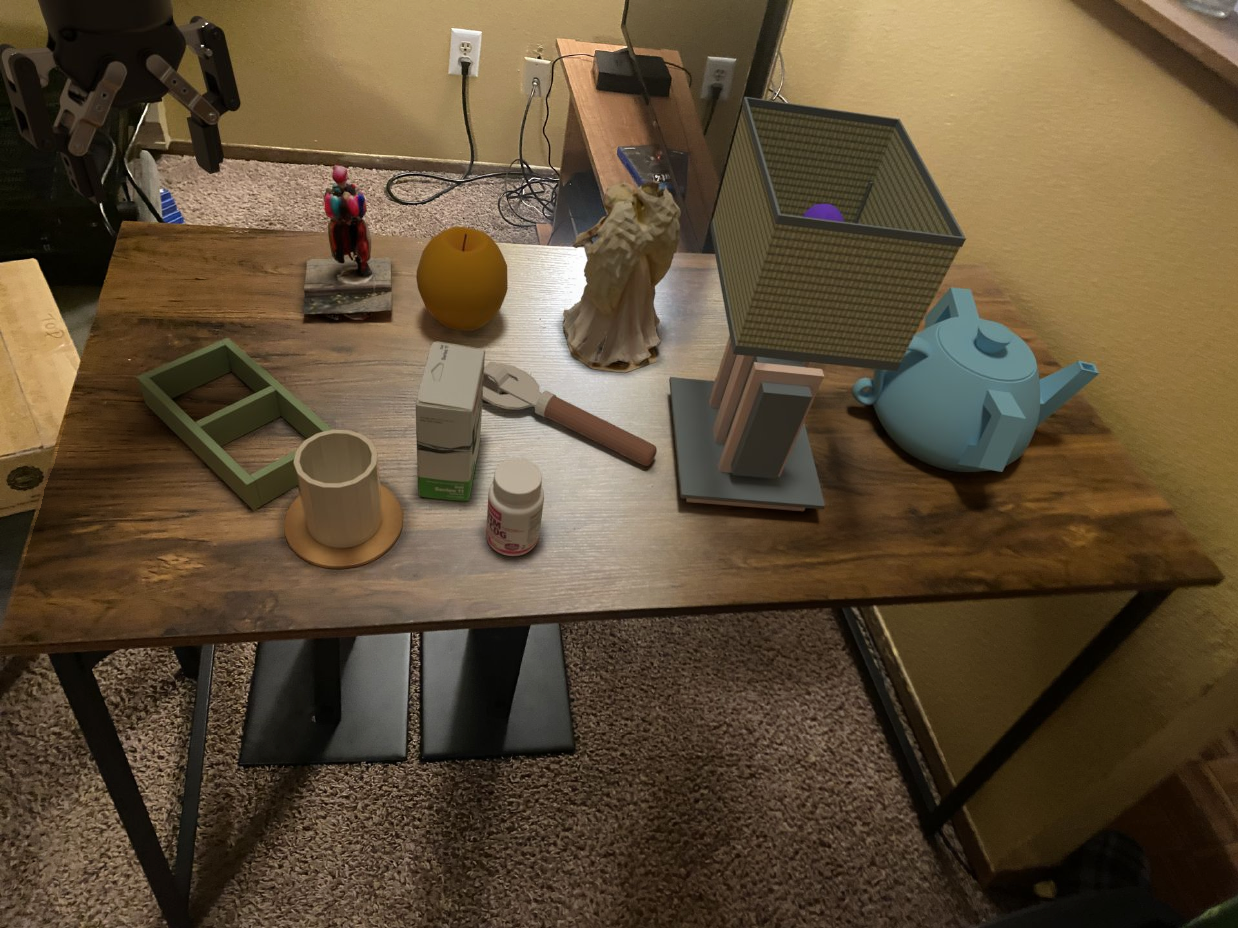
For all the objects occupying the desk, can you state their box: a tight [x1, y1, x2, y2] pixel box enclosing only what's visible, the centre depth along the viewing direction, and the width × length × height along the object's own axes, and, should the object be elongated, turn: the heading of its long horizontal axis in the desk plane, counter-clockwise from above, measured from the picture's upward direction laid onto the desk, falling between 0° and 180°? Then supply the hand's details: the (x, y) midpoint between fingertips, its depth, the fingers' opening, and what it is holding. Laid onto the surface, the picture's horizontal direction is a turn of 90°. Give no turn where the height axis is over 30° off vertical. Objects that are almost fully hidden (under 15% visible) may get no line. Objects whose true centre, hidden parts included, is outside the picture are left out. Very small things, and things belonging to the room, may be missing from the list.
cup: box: [294, 429, 382, 548], centre depth 71 cm, size 6×6×8 cm
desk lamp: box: [669, 96, 967, 512], centre depth 75 cm, size 18×14×33 cm
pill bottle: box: [485, 457, 545, 557], centre depth 72 cm, size 5×5×8 cm
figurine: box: [562, 180, 682, 374], centre depth 90 cm, size 12×12×20 cm
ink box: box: [415, 341, 486, 502], centre depth 76 cm, size 9×5×12 cm, turn 179°
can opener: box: [482, 361, 658, 467], centre depth 86 cm, size 20×6×3 cm, turn 68°
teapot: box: [851, 286, 1100, 473], centre depth 91 cm, size 19×19×14 cm
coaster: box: [283, 484, 404, 570], centre depth 74 cm, size 10×10×1 cm
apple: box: [415, 226, 509, 331], centre depth 91 cm, size 10×10×12 cm
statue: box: [301, 164, 393, 321], centre depth 91 cm, size 11×9×15 cm
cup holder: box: [136, 337, 334, 511], centre depth 78 cm, size 18×9×4 cm, turn 49°
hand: (155, 183), depth 62 cm, fingers open, 8 cm apart
